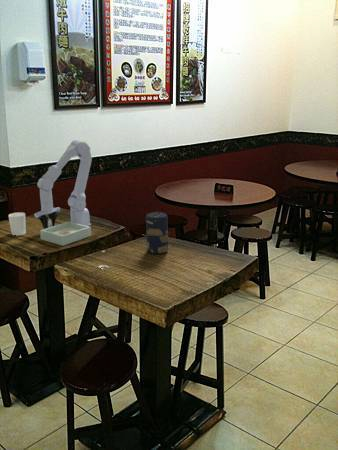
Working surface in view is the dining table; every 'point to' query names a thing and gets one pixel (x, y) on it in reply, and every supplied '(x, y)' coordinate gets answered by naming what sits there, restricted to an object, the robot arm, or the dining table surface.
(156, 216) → the canister
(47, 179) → the robot arm
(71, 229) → the caddy
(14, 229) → the white cup
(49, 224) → the peg
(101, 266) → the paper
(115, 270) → the dining table surface
